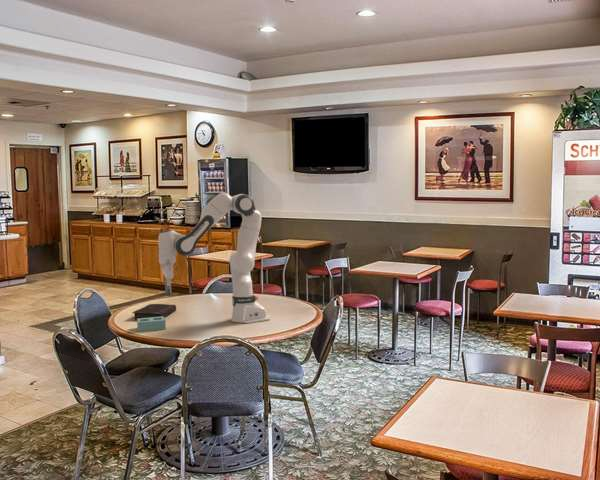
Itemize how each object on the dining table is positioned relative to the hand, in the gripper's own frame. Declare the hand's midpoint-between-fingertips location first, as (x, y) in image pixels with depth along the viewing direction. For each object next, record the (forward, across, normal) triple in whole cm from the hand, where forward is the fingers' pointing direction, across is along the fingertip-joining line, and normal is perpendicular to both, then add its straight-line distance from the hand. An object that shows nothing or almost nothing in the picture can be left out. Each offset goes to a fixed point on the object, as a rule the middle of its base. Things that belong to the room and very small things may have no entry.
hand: (168, 284), depth 312 cm
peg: (+6, 0, 0) cm, 6 cm away
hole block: (+23, +1, +10) cm, 25 cm away
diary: (+24, +33, +5) cm, 41 cm away
